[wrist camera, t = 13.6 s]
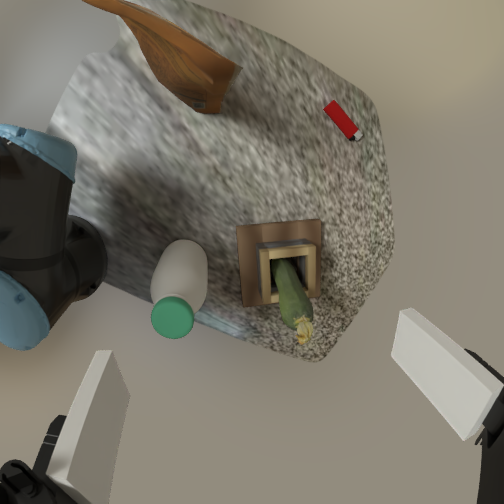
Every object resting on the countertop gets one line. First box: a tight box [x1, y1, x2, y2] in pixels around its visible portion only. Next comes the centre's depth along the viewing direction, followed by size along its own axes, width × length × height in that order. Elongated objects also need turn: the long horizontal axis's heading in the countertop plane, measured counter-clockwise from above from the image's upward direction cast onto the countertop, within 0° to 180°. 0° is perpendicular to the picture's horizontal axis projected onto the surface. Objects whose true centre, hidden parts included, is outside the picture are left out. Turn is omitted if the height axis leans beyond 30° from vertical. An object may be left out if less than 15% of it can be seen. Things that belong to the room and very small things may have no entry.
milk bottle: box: [150, 240, 208, 339], centre depth 38 cm, size 8×8×20 cm
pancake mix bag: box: [82, 0, 243, 114], centre depth 26 cm, size 7×19×28 cm, turn 44°
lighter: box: [323, 100, 363, 141], centre depth 45 cm, size 3×1×8 cm
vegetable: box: [271, 258, 313, 345], centre depth 42 cm, size 4×4×20 cm
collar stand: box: [236, 219, 321, 307], centre depth 47 cm, size 14×14×6 cm
